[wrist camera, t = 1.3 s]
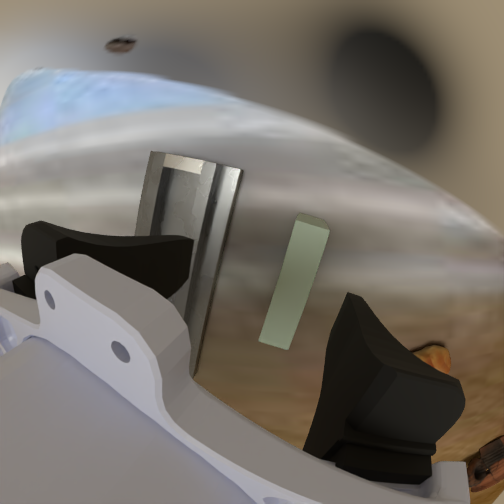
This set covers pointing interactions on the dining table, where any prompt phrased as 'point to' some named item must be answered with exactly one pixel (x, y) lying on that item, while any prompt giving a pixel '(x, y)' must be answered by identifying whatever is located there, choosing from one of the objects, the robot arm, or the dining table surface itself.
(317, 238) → the door panel
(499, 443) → the brown openwork sculpture
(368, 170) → the dining table surface
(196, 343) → the door track
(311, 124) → the dining table surface
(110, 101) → the dining table surface
